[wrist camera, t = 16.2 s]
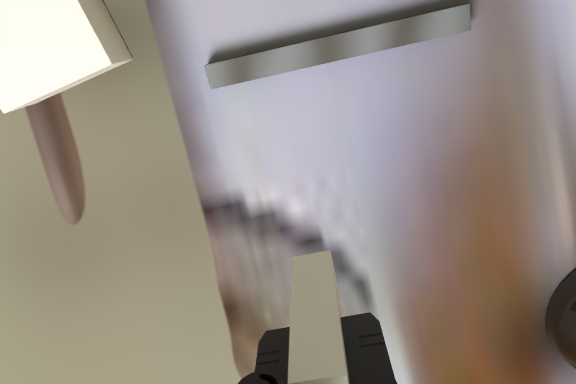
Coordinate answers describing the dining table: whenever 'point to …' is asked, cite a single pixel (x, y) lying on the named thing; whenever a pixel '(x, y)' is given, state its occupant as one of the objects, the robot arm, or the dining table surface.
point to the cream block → (54, 47)
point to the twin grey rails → (340, 46)
